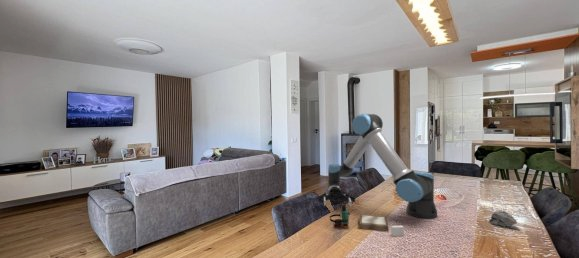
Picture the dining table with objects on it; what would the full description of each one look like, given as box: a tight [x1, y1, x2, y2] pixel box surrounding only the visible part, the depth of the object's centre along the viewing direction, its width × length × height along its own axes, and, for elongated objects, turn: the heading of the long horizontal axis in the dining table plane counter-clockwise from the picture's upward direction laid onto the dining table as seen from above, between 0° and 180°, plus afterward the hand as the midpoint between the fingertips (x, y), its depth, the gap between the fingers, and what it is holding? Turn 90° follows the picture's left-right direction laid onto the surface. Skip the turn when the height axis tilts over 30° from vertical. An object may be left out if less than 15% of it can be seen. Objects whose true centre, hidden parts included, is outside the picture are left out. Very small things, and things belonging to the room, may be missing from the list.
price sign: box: [390, 225, 405, 237], centre depth 113 cm, size 5×2×4 cm, turn 93°
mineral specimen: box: [488, 209, 519, 227], centre depth 122 cm, size 10×8×10 cm
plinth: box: [359, 214, 389, 232], centre depth 124 cm, size 13×12×3 cm
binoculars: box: [329, 202, 351, 229], centre depth 124 cm, size 9×11×10 cm
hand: (337, 203), depth 134 cm, fingers open, 13 cm apart
